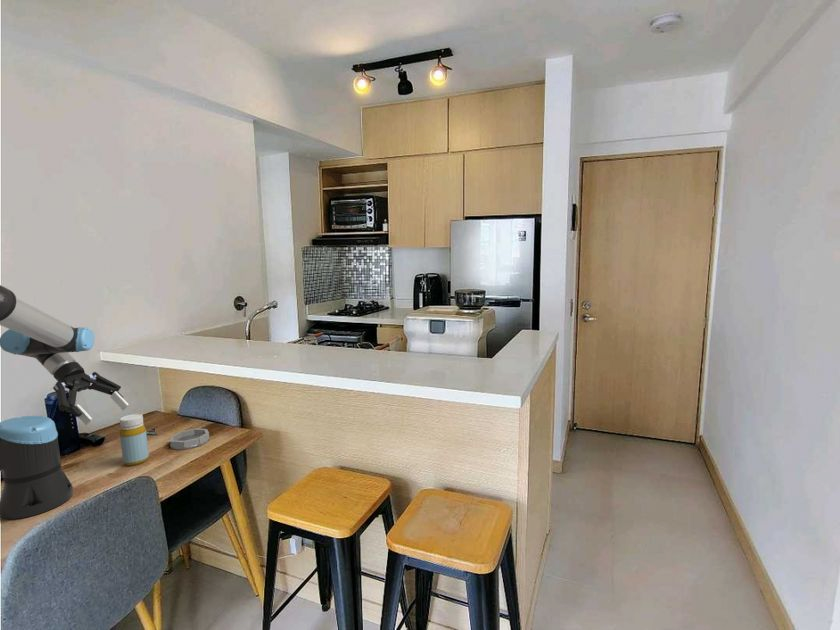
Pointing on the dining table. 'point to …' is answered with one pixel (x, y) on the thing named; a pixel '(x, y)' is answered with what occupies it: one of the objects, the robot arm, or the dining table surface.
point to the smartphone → (151, 432)
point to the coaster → (189, 439)
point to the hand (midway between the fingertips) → (108, 414)
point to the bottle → (133, 440)
